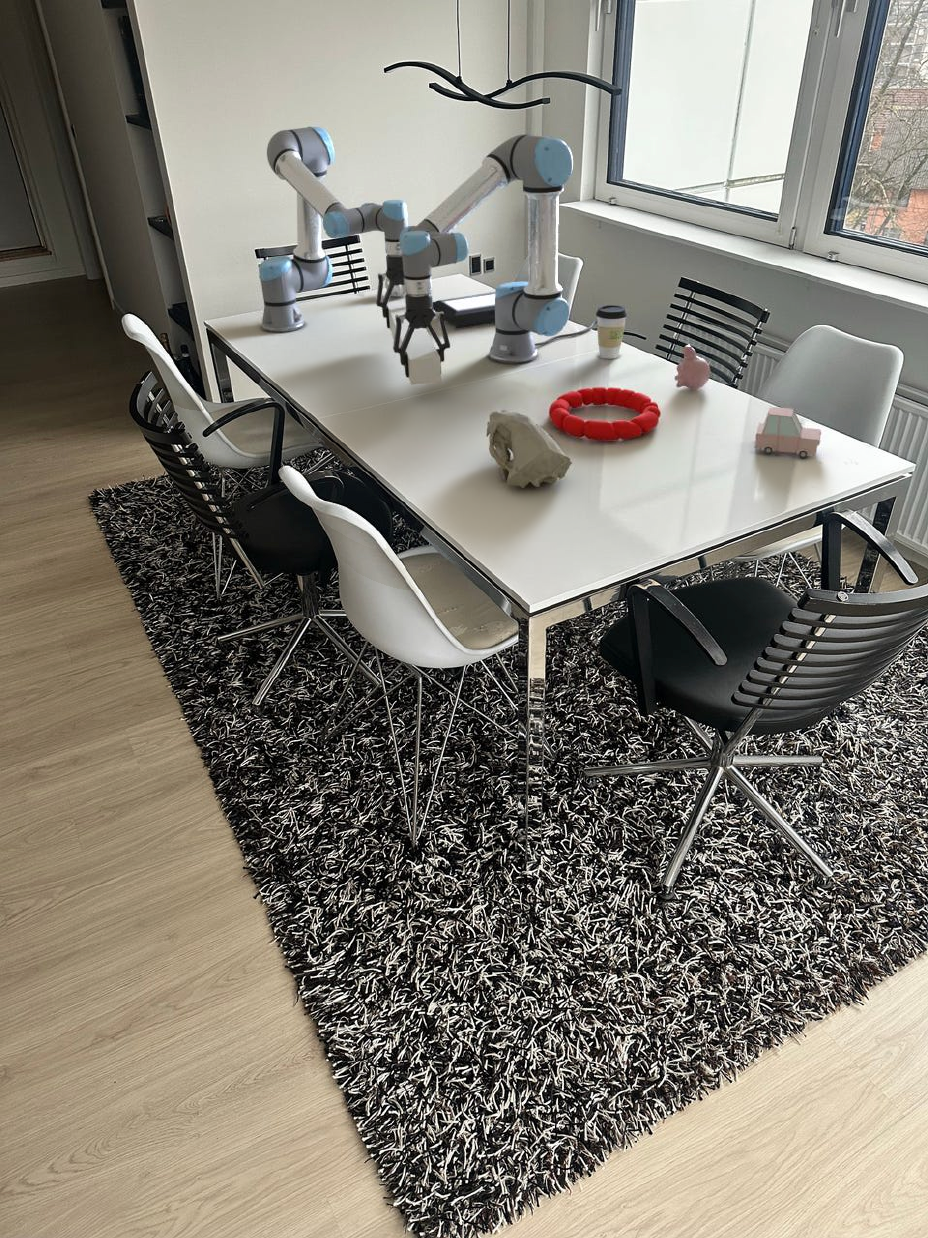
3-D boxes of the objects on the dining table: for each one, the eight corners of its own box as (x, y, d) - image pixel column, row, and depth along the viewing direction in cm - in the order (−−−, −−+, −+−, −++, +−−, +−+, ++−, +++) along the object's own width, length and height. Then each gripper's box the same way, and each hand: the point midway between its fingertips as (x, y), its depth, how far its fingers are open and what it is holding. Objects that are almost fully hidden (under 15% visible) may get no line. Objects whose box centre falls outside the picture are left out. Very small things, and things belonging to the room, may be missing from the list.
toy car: (816, 461, 219) (824, 423, 213) (752, 454, 224) (758, 416, 218) (817, 446, 226) (825, 408, 221) (755, 439, 231) (761, 402, 225)
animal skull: (496, 517, 219) (521, 479, 201) (463, 429, 225) (484, 384, 207) (557, 503, 225) (586, 465, 206) (523, 417, 231) (549, 373, 212)
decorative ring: (589, 435, 224) (684, 402, 234) (527, 398, 247) (617, 369, 256) (589, 461, 229) (683, 427, 238) (529, 422, 251) (617, 393, 260)
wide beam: (387, 323, 300) (386, 302, 296) (413, 321, 301) (411, 300, 297) (411, 384, 251) (409, 359, 247) (441, 381, 252) (440, 357, 248)
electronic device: (454, 313, 312) (432, 299, 327) (455, 331, 315) (433, 317, 330) (535, 300, 322) (510, 288, 337) (534, 318, 326) (510, 305, 341)
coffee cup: (626, 360, 285) (629, 312, 276) (595, 360, 285) (598, 313, 277) (622, 350, 293) (625, 303, 284) (592, 351, 293) (594, 304, 285)
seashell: (379, 296, 357) (377, 270, 351) (412, 290, 362) (411, 264, 357) (389, 302, 349) (388, 275, 343) (423, 296, 355) (422, 270, 349)
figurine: (665, 387, 264) (669, 347, 257) (693, 380, 268) (698, 340, 261) (686, 396, 257) (690, 355, 250) (714, 388, 262) (720, 348, 255)
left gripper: (365, 259, 278) (371, 331, 291) (432, 254, 281) (435, 326, 294) (363, 253, 284) (369, 325, 297) (429, 249, 287) (432, 320, 300)
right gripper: (380, 299, 238) (387, 381, 251) (459, 293, 241) (462, 375, 254) (378, 292, 245) (384, 373, 257) (454, 286, 247) (457, 366, 260)
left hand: (402, 325), depth 295 cm, fingers closed on wide beam, 9 cm apart
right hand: (423, 374), depth 256 cm, fingers closed on wide beam, 9 cm apart
